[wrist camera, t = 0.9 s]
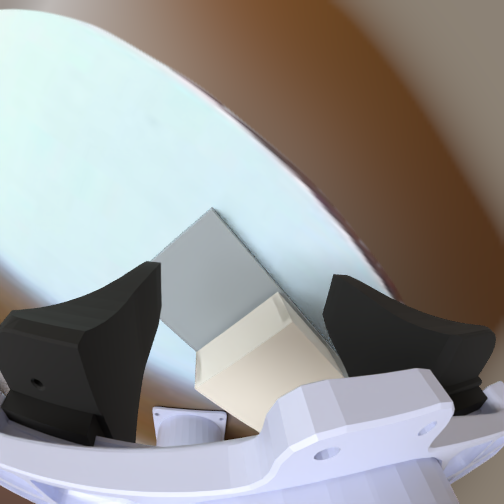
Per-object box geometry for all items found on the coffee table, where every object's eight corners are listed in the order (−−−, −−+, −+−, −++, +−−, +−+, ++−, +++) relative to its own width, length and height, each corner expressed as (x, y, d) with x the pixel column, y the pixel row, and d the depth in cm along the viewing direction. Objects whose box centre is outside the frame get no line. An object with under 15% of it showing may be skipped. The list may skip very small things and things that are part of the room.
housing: (327, 349, 25) (346, 380, 21) (254, 398, 26) (261, 433, 22) (277, 291, 23) (292, 321, 18) (196, 351, 24) (194, 388, 19)
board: (370, 392, 31) (379, 406, 28) (310, 431, 31) (316, 447, 29) (211, 207, 22) (211, 213, 19) (129, 279, 23) (121, 293, 20)
